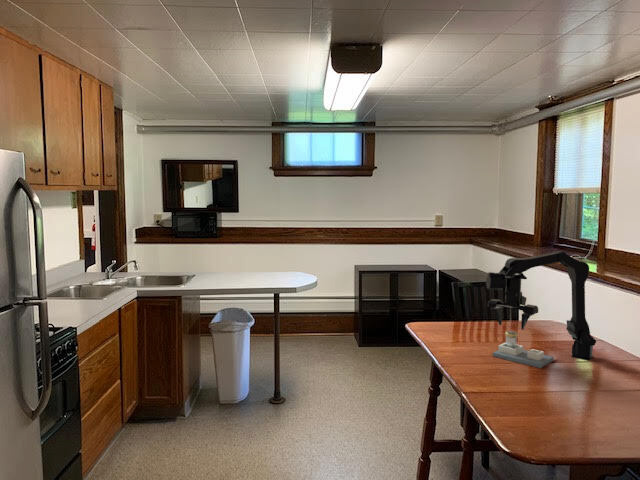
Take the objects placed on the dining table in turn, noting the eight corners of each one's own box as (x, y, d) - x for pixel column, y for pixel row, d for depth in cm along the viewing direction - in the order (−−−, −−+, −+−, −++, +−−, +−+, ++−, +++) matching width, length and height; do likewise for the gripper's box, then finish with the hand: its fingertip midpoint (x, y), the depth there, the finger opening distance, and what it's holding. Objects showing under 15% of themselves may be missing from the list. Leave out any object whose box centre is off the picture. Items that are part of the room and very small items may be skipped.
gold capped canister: (519, 351, 195) (520, 332, 194) (514, 354, 191) (514, 335, 191) (507, 349, 198) (508, 330, 198) (502, 351, 195) (502, 332, 194)
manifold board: (553, 360, 189) (553, 350, 189) (540, 368, 180) (540, 357, 180) (506, 349, 203) (507, 340, 202) (492, 356, 194) (492, 346, 193)
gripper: (544, 290, 192) (542, 328, 193) (500, 284, 205) (498, 319, 206) (533, 293, 184) (531, 333, 185) (487, 287, 197) (486, 324, 199)
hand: (511, 327), depth 194 cm, fingers open, 9 cm apart
